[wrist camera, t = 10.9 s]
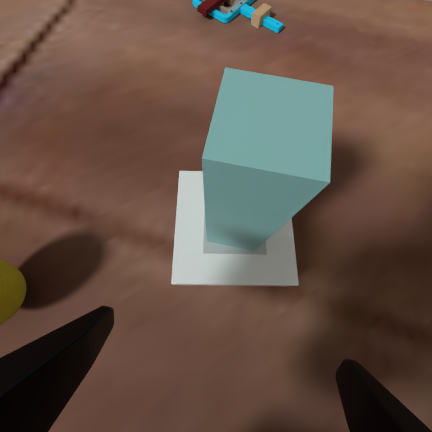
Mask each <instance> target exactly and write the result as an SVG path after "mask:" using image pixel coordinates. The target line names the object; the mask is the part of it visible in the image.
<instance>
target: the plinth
mask: <svg viewBox="0 0 432 432" xmlns="http://www.w3.org/2000/svg"><path fill="white" fill-rule="evenodd" d="M171 284H174V285H208V286H299V283H298V273H297V264H296V255H295V245H294V236H293V226H292V218H291V219H289V220H288V221H287V222H286V223H285V224H284V225H283V226H282V227H281V228H279V229H278V230H277V231H276V232H275V233H274V234H273V235H272V236H271V237H270V238H268V239H267V240H266V241H265V242H264V243H263V244H262V245H261V246H260V247H258V248H257V249H256V250H255V251H252V250H247V249H242V248H237V247H232V246H227V245H222V244H217V243H212V242H207V239H206V221H205V204H204V187H203V171H179V185H178V199H177V212H176V226H175V240H174V254H173V267H172V281H171Z"/></svg>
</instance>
